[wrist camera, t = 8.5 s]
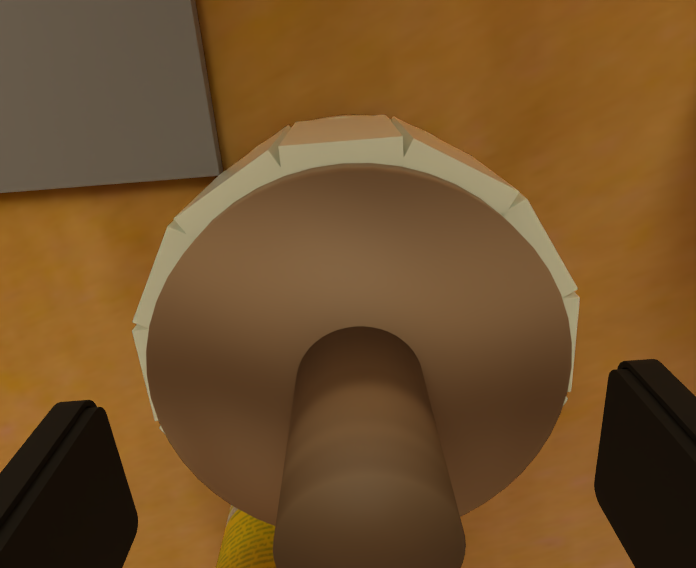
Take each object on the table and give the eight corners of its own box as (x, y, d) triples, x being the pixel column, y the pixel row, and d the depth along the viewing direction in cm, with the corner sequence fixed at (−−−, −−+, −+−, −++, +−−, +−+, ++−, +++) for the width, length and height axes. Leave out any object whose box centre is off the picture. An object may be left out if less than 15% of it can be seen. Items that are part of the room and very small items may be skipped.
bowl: (168, 128, 17) (88, 161, 12) (514, 100, 17) (596, 120, 12) (224, 414, 22) (184, 537, 16) (503, 395, 21) (559, 512, 16)
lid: (116, 182, 12) (-64, 279, 7) (570, 144, 12) (760, 214, 6) (199, 523, 16) (127, 760, 11) (544, 499, 16) (650, 728, 10)
